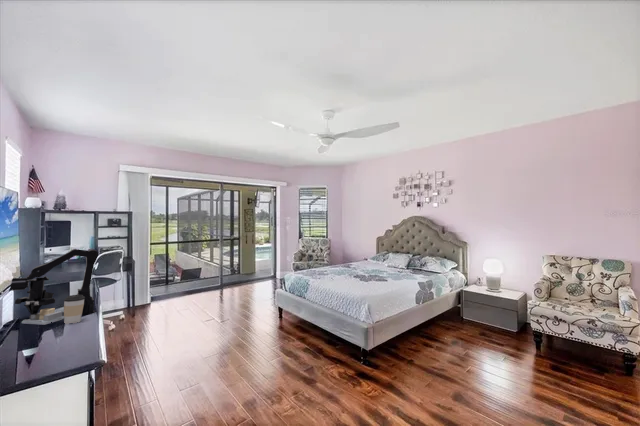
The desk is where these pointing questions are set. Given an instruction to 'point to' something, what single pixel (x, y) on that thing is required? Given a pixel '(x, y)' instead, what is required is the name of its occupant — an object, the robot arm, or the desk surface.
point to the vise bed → (46, 319)
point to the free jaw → (35, 316)
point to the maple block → (46, 312)
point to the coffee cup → (73, 308)
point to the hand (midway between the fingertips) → (33, 316)
